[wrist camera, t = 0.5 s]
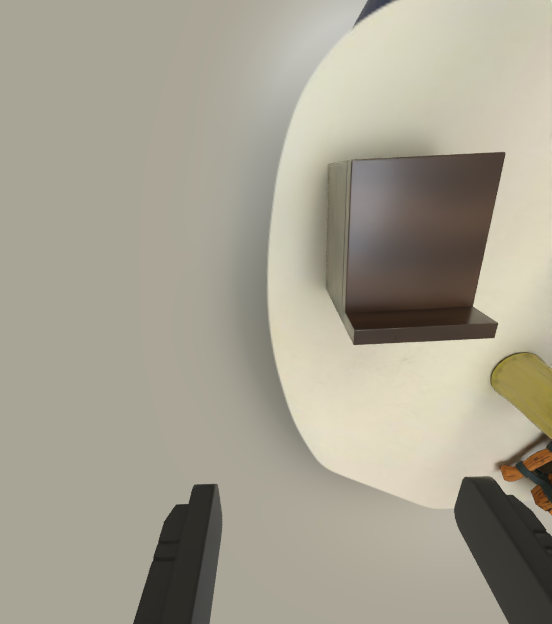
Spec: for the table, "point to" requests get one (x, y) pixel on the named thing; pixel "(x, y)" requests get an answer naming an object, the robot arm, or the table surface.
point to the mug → (534, 476)
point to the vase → (527, 387)
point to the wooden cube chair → (410, 245)
